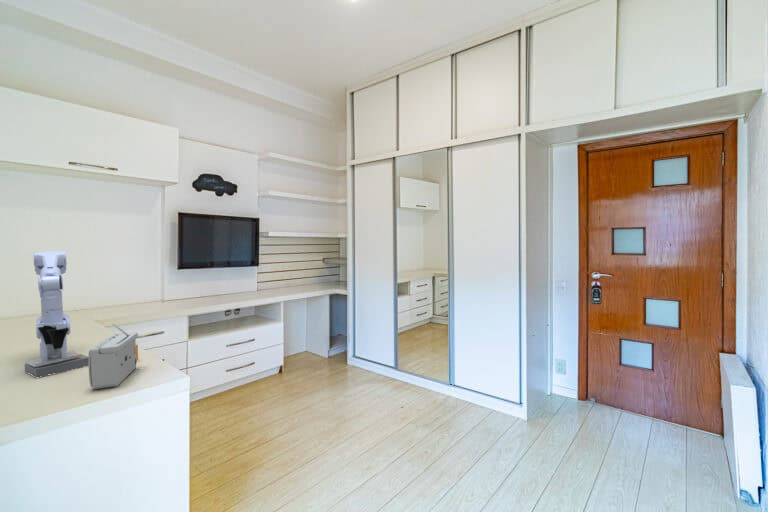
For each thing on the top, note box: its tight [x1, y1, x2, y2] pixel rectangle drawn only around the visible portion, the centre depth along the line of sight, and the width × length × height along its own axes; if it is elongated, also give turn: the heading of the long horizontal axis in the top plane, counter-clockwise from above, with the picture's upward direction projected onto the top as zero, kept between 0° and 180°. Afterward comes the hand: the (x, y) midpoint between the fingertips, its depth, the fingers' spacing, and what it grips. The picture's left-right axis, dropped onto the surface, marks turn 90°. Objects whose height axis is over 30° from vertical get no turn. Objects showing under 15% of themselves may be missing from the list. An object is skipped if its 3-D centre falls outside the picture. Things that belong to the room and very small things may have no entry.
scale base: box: [24, 353, 88, 378], centre depth 135 cm, size 12×15×3 cm
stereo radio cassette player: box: [87, 323, 139, 390], centre depth 124 cm, size 21×8×20 cm, turn 18°
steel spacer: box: [47, 343, 62, 359], centre depth 134 cm, size 4×4×5 cm
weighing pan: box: [26, 351, 81, 367], centre depth 134 cm, size 8×13×1 cm, turn 148°
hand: (54, 346), depth 134 cm, fingers open, 7 cm apart
